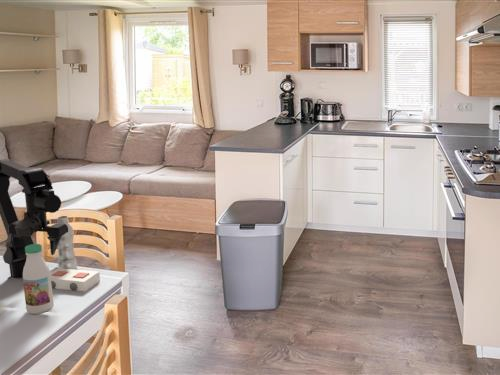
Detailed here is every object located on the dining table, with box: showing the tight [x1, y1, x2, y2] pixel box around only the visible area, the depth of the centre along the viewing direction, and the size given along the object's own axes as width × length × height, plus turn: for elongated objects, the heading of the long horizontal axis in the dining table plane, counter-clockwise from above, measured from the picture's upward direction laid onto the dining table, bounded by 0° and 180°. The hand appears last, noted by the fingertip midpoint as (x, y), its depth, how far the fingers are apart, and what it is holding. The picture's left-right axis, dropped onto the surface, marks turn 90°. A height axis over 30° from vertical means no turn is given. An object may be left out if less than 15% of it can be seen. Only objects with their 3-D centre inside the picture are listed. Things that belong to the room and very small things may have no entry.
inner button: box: [52, 271, 68, 276], centre depth 182 cm, size 4×4×2 cm
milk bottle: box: [22, 243, 55, 315], centre depth 162 cm, size 8×8×20 cm
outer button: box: [73, 272, 89, 278], centre depth 180 cm, size 4×4×2 cm
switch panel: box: [49, 266, 101, 292], centre depth 181 cm, size 17×9×4 cm, turn 74°
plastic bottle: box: [56, 215, 78, 270], centre depth 193 cm, size 6×7×20 cm
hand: (40, 253), depth 179 cm, fingers open, 9 cm apart
